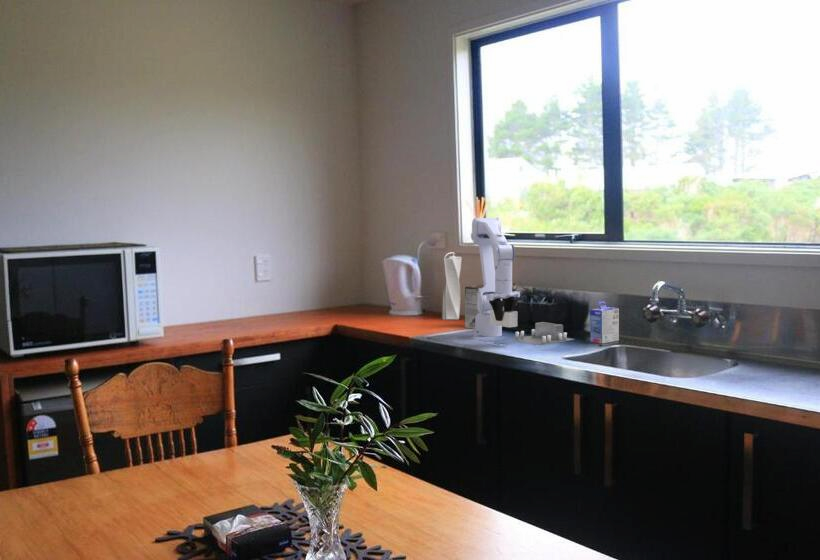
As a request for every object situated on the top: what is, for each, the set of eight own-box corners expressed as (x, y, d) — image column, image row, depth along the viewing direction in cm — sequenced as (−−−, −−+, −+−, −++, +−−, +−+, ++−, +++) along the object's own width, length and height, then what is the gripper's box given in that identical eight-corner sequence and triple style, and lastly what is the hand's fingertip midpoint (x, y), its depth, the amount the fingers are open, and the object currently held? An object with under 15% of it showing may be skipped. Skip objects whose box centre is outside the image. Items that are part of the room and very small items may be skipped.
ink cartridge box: (606, 341, 277) (607, 299, 276) (619, 343, 273) (620, 301, 271) (588, 344, 271) (589, 302, 269) (602, 346, 266) (603, 303, 265)
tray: (507, 342, 275) (507, 332, 274) (541, 336, 286) (541, 327, 286) (541, 348, 263) (541, 337, 263) (575, 342, 275) (575, 332, 275)
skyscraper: (442, 317, 338) (442, 252, 335) (461, 317, 337) (462, 252, 335) (441, 320, 330) (441, 253, 327) (461, 320, 329) (461, 253, 326)
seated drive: (535, 337, 279) (535, 322, 279) (542, 335, 282) (542, 321, 281) (555, 340, 273) (555, 325, 272) (562, 339, 275) (562, 324, 275)
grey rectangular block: (489, 324, 271) (489, 309, 270) (497, 323, 274) (497, 308, 273) (509, 327, 264) (509, 312, 264) (517, 326, 267) (517, 311, 266)
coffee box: (476, 324, 315) (476, 284, 314) (490, 326, 311) (490, 285, 310) (464, 327, 308) (464, 286, 306) (478, 329, 304) (478, 287, 302)
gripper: (497, 282, 260) (497, 323, 261) (526, 279, 269) (526, 319, 270) (482, 280, 265) (481, 321, 266) (511, 278, 274) (511, 316, 276)
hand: (503, 320), depth 269 cm, fingers closed on grey rectangular block, 4 cm apart
